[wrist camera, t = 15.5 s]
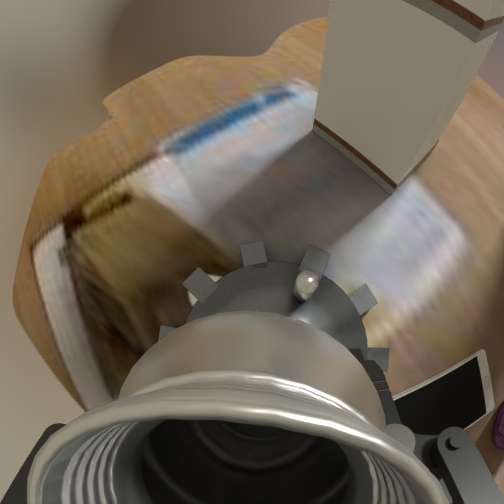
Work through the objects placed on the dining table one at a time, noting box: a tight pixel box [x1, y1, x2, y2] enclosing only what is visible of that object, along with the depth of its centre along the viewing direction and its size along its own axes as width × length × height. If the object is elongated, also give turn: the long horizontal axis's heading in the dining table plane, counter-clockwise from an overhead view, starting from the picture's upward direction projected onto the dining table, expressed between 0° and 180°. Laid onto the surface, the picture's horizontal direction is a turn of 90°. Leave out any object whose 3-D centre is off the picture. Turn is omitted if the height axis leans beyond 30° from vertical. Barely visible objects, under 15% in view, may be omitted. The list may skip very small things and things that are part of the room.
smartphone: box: [392, 349, 495, 435], centre depth 20 cm, size 8×1×15 cm
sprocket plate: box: [158, 240, 389, 372], centre depth 21 cm, size 19×18×4 cm
